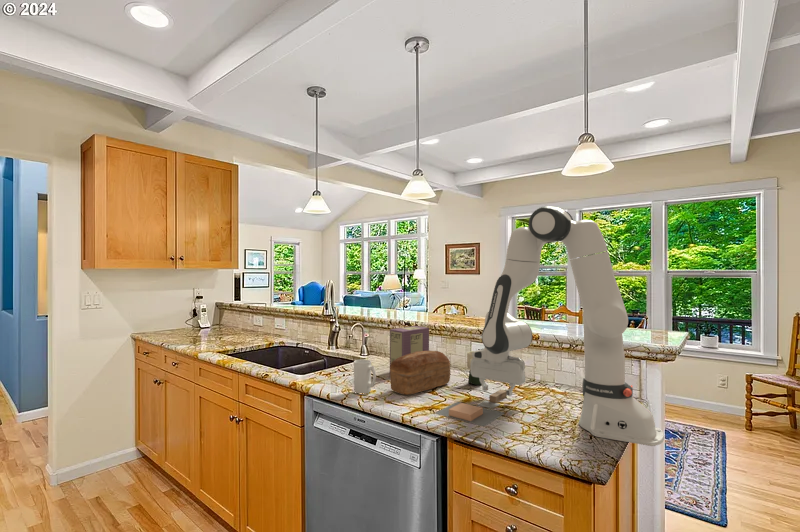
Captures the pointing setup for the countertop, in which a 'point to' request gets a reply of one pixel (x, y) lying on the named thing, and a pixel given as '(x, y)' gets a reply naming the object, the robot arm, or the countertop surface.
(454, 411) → the block
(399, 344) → the box
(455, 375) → the countertop surface
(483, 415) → the gray rectangular plate
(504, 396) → the turner
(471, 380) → the character mug
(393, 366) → the bread
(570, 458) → the countertop surface
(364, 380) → the mug
